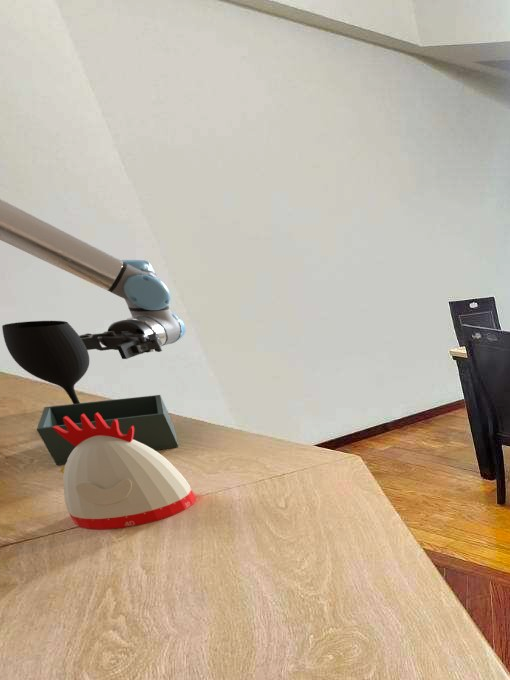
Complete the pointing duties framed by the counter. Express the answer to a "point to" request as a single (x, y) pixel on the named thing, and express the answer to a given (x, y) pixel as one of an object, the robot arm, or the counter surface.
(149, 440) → the bin
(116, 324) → the robot arm
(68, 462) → the kitchen timer
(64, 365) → the wine glass
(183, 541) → the counter surface
